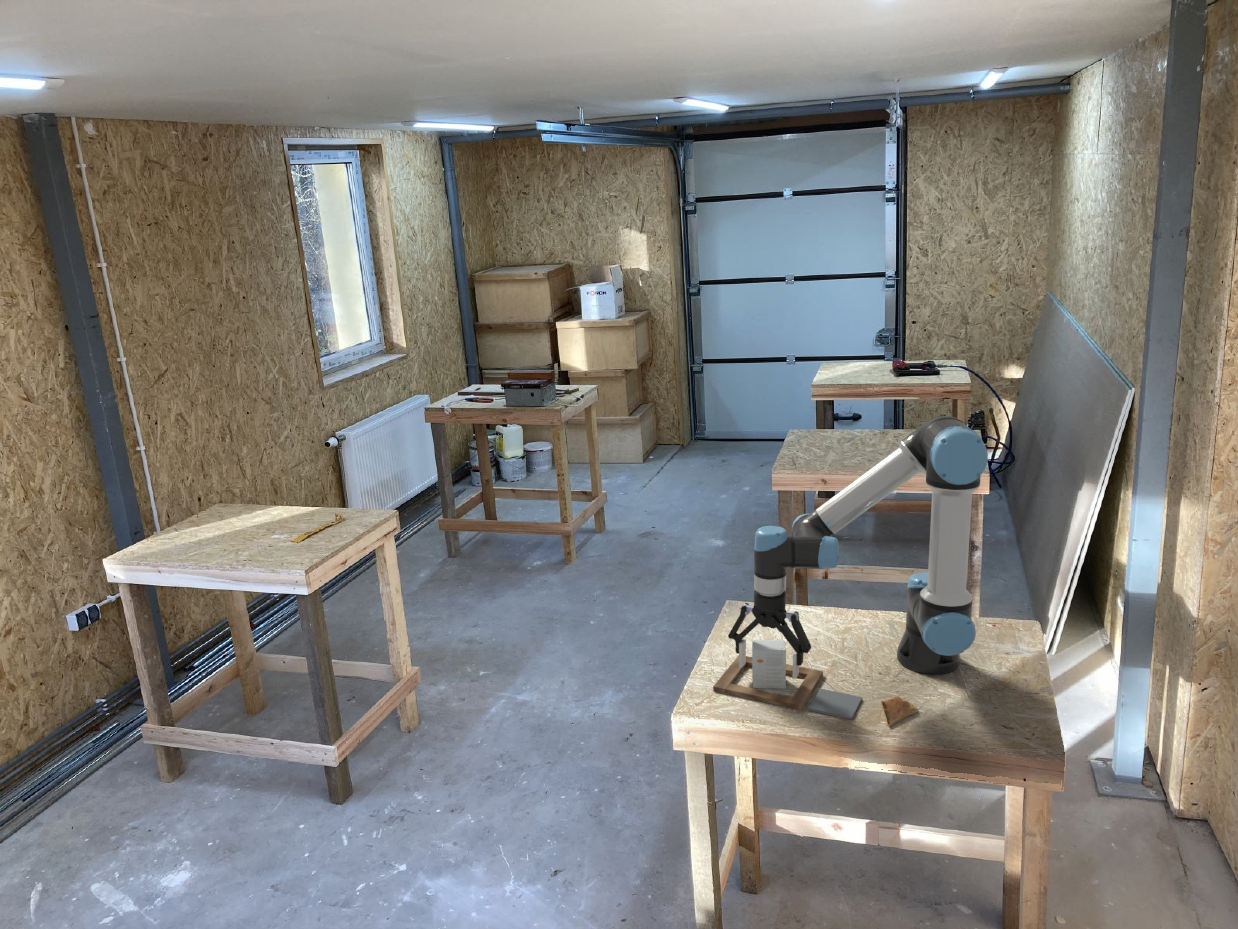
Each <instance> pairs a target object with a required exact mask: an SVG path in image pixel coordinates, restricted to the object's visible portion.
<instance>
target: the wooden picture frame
mask: <svg viewBox="0 0 1238 929" xmlns="http://www.w3.org/2000/svg"><path fill="white" fill-rule="evenodd" d="M747 667H748V668H752V656H747V655H746V663H745V665H744V666H743V667H742V668H740V667H739V655H737V656H736V658H735V659H734V660H733V662H732V663H731V664H730V665H729V667H727V669H725V671H724V672H723V674H722V675H721V676H720V677H719V678H718V679H717V681H716V682H715V684H714V685H713V687H712V688H713V689H712V691H713V692H717V693H722V694H727V695H730V696H731V695H732V696H735V697H740V698H744V699H749V700H754V701H758V702H763V703H766V704H767V703H768V704H772V705H776V706H780V707H786V708H790V709H794V710H799V711H803V709H804V707H805V705H806V704H807V702H808V700H809V699H810V697H811V696H812V694H813V692H814V691H815V689H816V687H817V686H818V685H819V682H821V680H822V678H823V676H824V671H823V670H818V669H813V668H809V667H803V666H799V675H798V676H797V678H802V679H803V680H802V682H801V684H800V685H799V687H798V688H797V690H796V691H795V693H794V695H793V696H791V695H787V694H781V693H776V692H771V691H767V690H763V689H760V688H752V687H748V686H743V685H739V684H734V682H735V681H736V680H737V679H738V678H739V676H740V675H741V673H742V672H744V670H745V668H747ZM787 675H788V676H791V677H793V664H788V663H786V676H787Z"/></svg>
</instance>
